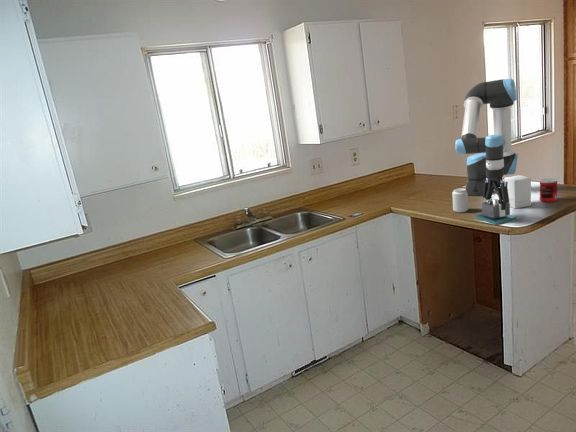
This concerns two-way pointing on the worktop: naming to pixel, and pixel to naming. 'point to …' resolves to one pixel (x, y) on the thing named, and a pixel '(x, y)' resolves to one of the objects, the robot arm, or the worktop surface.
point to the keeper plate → (496, 220)
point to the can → (460, 200)
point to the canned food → (548, 190)
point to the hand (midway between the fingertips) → (495, 214)
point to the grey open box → (493, 209)
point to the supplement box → (519, 191)
